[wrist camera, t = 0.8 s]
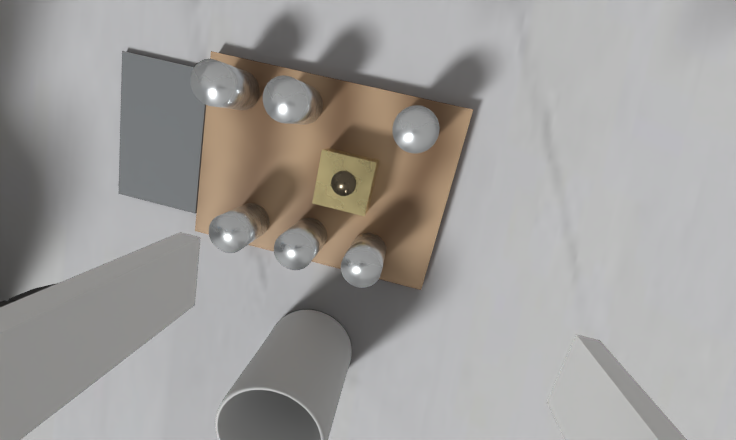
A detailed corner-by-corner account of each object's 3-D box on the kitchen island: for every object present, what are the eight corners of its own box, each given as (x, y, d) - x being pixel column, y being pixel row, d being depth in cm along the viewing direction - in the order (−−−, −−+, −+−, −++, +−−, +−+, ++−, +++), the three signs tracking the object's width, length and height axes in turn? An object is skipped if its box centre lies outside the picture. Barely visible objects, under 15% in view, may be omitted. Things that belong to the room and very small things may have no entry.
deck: (201, 228, 34) (195, 230, 33) (217, 53, 30) (211, 51, 29) (420, 285, 32) (421, 289, 31) (471, 110, 28) (473, 109, 27)
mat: (122, 192, 34) (118, 193, 34) (125, 51, 31) (122, 51, 30) (197, 212, 33) (195, 213, 33) (210, 71, 30) (207, 70, 30)
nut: (320, 197, 30) (311, 203, 28) (329, 148, 29) (321, 149, 27) (368, 209, 30) (364, 216, 28) (379, 160, 29) (376, 162, 27)
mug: (313, 292, 34) (268, 364, 23) (369, 354, 35) (350, 450, 24) (234, 354, 37) (162, 442, 26) (287, 410, 38) (238, 516, 27)
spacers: (209, 225, 33) (178, 239, 28) (225, 66, 29) (192, 54, 24) (397, 274, 31) (394, 297, 27) (440, 114, 28) (445, 111, 23)
